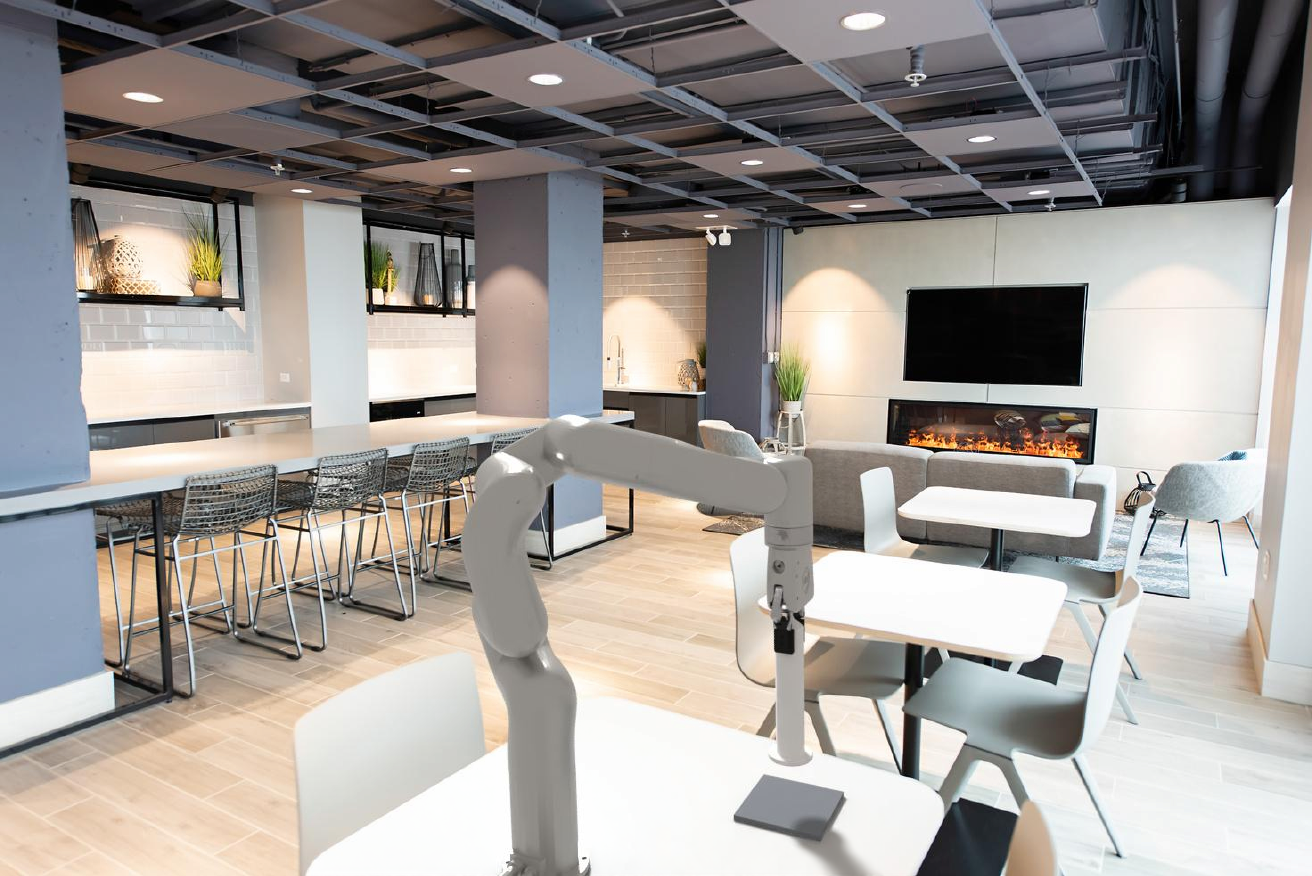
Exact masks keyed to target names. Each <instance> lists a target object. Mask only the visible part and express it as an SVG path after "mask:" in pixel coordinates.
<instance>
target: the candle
mask: <svg viewBox="0 0 1312 876" xmlns="http://www.w3.org/2000/svg"><path fill="white" fill-rule="evenodd" d="M787 609H788V608H787ZM787 615H788V614H786V613H785V615H784V616H785V617H786V619H787ZM792 629H794V632H795V652H794V654H793V655H789V654H782V653H776V652H775V651H774V656H775V658H774V661H775V662H774V666H775V667H774V669H775V670H774V671H775V673H774V674H775V679H774V680H775V684H774V685H775V742H776V743H774V744H772V745H771V746H770V747H769V748H768V750H767V755H768V756H767V757H769V760H771V761H772V762H773V763H774V764H777V765H780V766H784V767H791V768H793V767H794V768H795V767H802V766H805V765H807V764H809V763H810V762H811V761H812V760H813V757H814V756H813V750H812V749H811V748H810V747H809V746H808V745H806V744H805V652H804V651H805V642H804V627H803V625H802V624H801V623H800V622H798V621H797V620H796V619H795V618H794V616H793V623H792Z"/></svg>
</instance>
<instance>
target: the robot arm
mask: <svg viewBox="0 0 1312 876" xmlns="http://www.w3.org/2000/svg"><path fill="white" fill-rule="evenodd" d="M813 470H814V469H813V463H812V461H811V459H809V458H808V457H806V456H804V455H799V454H798V455H797V454H779V455H772V456H770V457H749V456H732V455H728V454H724V453H720V452H716V451H713V450H709V449H706V448H705V449H704V448H702V447H699V446H696V445H694V444H691V443H688V442H685V441H683V440H680V439H676V438H673V437H668V436H665V435H661V434H656V433H652V432H648V431H644V430H639V429H634V428H630V427H625V426H621V425H616V424H613V423H609V422H606V421H605V422H604V421H600V420H597V419H596V420H595V419H591V418H587V417H583V416H581V415H580V416H579V415H576V414H565V415H561V416H559V417H556V418H555V419H552V420H550V421H549V422H546V423H545V424H544V425H543V424H542V425H541V426H539V427H538V428H537V429H535V430H533V431H530V432H529V433H528V434H525V436H523V437H521V438H519V439H517V440H516V441H514V442H512V443H510V444H508V445H506V446H505V447H503V448H502V449H500V450H497V451H496V452H495V453H493V454H492V455H490V456H489V457H488V458H486V459H485V460H484V461H483V462H482V463H481V464H480V466H479V467H478V469H477V471H476V472H475V476H474V481H473V488H474V492H475V495H476V496H477V497H476V499H475V500H474V502H473V503H472V505H471V506H470V508H469V510H468V512H467V514H466V516H465V520H464V522H463V525H462V530H461V536H460V551H461V557H462V561H463V565H464V568H465V572H466V574H467V578H468V582H469V585H470V588H471V591H472V595H473V597H472V603H471V613H472V618H473V621H474V625H475V627H476V630H477V634H478V636H479V639H480V642H481V645H482V648H483V651H484V653H485V656H486V659H487V662H488V665H489V669H490V671H491V674H492V676H493V679H494V680H495V684H496V686H497V688H498V690H499V692H500V693H501V696H502V698H503V701H504V704H505V705H506V711H507V720H508V722H507V723H508V724H507V726H508V727H507V768H508V769H507V770H508V785H509V787H508V788H509V789H508V790H509V804H510V805H509V806H510V807H509V809H510V810H509V811H510V826H511V827H510V829H511V850H510V851H508V853H507V854H506V855H505V857H504V859H503V861H502V867H501V868H502V869H501V870H502V871H501V872H500V873H499V874H497V876H586V875H587V873H588V872H589V869H590V863H591V862H590V853H589V851H588V849H587V847H586V846H585V844H583V843H581V842H579V826H578V821H579V820H578V804H577V803H578V796H577V773H576V772H577V771H576V769H577V768H576V757H575V756H576V752H575V751H576V750H575V749H576V748H575V745H576V743H575V741H576V740H575V733H576V732H575V731H576V730H575V729H576V720H577V719H576V718H577V709H578V706H577V705H578V700H577V699H578V697H577V691H576V687H575V683H574V681H573V679H572V675H571V674H570V673H569V671H568V669H567V668H566V667H565V665H564V664H563V662H562V661H561V660H560V659H559V658H558V657H557V656H556V654H555V653H554V651H553V649H552V647H551V644H550V641H549V639H548V632H549V631H548V630H549V617H548V611H547V608H546V606H545V603H544V601H543V599H542V596H541V594H540V592H539V589H538V585H537V582H536V579H535V576H534V573H533V571H532V567H531V563H530V560H529V557H528V553H527V548H526V536H527V532H528V530H529V528H530V526H531V525H532V523H533V522H534V520H535V519H536V518H537V517H538V515H539V514H540V513H541V511H542V509H543V508H544V505H545V503H546V500H547V499H546V498H547V487H549V486H551V485H553V484H555V483H557V482H558V481H559V480H560V479H563V478H564V477H565V476H566V475H570V476H571V477H574V478H577V479H581V480H586V481H591V482H595V483H599V484H606V485H611V486H612V485H613V486H616V487H621V488H627V489H631V490H636V491H640V492H645V493H648V494H656V495H659V496H661V497H662V496H663V497H667V498H671V499H678V500H684V501H691V502H695V503H698V504H699V503H700V504H704V505H709V506H713V507H716V508H721V509H725V510H731V511H736V512H741V513H747V514H751V515H756V516H763V525H764V527H763V529H764V530H763V531H764V532H763V533H764V535H763V536H764V538H763V539H764V543H763V544H764V545H765V546H767V547H768V549H767V550H768V551H767V566H766V603H767V607H768V608H769V609H770V610H771V611H770V619H771V620H772V628H773V651H774V653H775V652H776V653H782V654H789V655H793V654H794V652H795V632H794V629H792V623H793V616H794V618H795V619H796V620H797V621H798V622H800V623H801V624H802V625H803V627H804V643H805V639H806V637H805V633H806V632H805V629H806V628H805V623H806V622H805V619H806V618H805V615H806V610H805V609H806V608H805V606H807V604H808V603H809V602H811V601H812V599H813V598H814V596H815V582H814V581H815V580H814V565H813V551H812V546H813V545H814V524H813V523H814V519H813V518H814V511H813V510H814V506H813V503H814V502H813V498H814V497H813V496H814V495H813V494H814V491H813V487H814V485H813V484H814V483H813V481H814V479H813V473H814V471H813ZM783 606H785V608H784V607H783ZM787 608H788V609H787ZM783 614H785V615H786V614H788V615H787V619H786V617H785V615H783Z"/></svg>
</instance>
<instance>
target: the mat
mask: <svg viewBox="0 0 1312 876" xmlns="http://www.w3.org/2000/svg"><path fill="white" fill-rule="evenodd" d="M844 797H845V791H842V790H838V789H833V788H828V787H823V786H819V785H817V784H811V783H806V782H801V781H797V780H793V779H789V778H788V779H787V778H783V777H779V776H774V775H770V774H766V773H763V775H762V776H761V777H760V779H759V780H758V782H756V784H755V786H754V787H753V788H752V789H751V791H750V792H749V794H748V795H747V796H746V798H745V799H744V800H743V802H742V803H741V804H740V805H739V807H738V808H737V810H736V811H735V812H734V813H733V821H739V822H742V823H745V824H749V825H754V826H758V827H761V828H766V829H770V830H774V831H778V832H783V833H786V834H789V835H794V836H798V837H801V838H805V839H809V840H813V841H817V842H821V840H822V838H823V836H824V834H825V832H826V831H827V829H828V827H829V825H830V823H831V822H832V820H833V817H835V815H836V812H837V810H838V808H839V807H840V805H841V803H842V801H843V799H844Z"/></svg>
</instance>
